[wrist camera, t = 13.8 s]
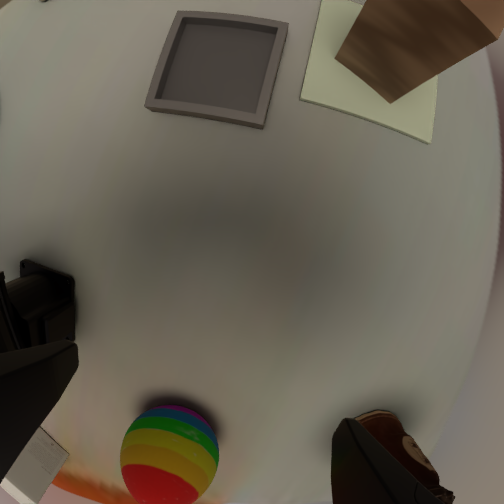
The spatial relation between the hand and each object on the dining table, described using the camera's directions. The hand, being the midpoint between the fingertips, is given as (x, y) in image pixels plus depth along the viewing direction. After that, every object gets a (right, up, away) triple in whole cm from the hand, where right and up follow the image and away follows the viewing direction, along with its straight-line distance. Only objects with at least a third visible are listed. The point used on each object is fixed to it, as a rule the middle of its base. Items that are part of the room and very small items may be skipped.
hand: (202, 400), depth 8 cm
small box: (-27, -22, +19) cm, 40 cm away
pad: (+11, +18, +9) cm, 23 cm away
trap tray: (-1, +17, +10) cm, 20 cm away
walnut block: (+11, +18, +8) cm, 23 cm away
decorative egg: (-5, -12, +16) cm, 20 cm away
